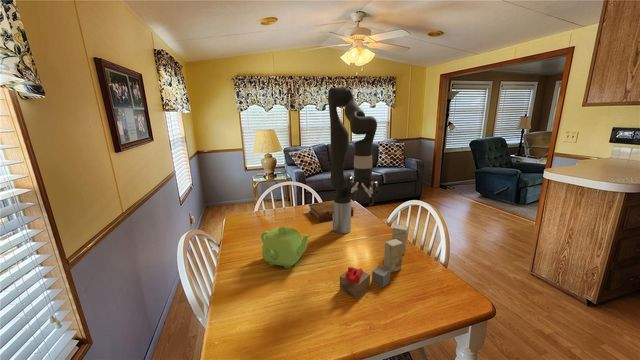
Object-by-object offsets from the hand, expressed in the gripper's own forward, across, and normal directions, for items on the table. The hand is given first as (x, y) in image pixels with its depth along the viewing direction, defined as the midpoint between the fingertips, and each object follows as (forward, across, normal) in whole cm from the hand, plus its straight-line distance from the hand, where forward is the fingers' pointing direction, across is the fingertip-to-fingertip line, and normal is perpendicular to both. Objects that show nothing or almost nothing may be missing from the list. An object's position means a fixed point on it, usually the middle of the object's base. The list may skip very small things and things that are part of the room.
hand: (362, 202), depth 115 cm
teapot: (+26, -22, -27) cm, 44 cm away
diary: (+27, -45, +30) cm, 60 cm away
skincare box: (+26, +15, +1) cm, 30 cm away
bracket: (+21, +11, -21) cm, 31 cm away
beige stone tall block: (+26, +10, +16) cm, 32 cm away
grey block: (+26, +16, -10) cm, 32 cm away
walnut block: (+26, +11, -20) cm, 35 cm away
